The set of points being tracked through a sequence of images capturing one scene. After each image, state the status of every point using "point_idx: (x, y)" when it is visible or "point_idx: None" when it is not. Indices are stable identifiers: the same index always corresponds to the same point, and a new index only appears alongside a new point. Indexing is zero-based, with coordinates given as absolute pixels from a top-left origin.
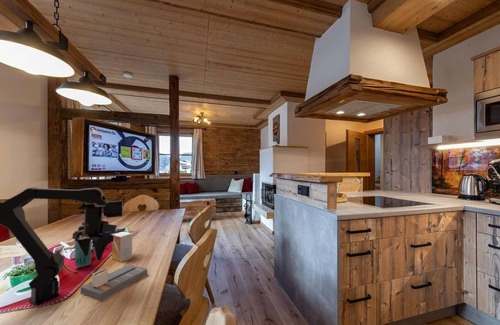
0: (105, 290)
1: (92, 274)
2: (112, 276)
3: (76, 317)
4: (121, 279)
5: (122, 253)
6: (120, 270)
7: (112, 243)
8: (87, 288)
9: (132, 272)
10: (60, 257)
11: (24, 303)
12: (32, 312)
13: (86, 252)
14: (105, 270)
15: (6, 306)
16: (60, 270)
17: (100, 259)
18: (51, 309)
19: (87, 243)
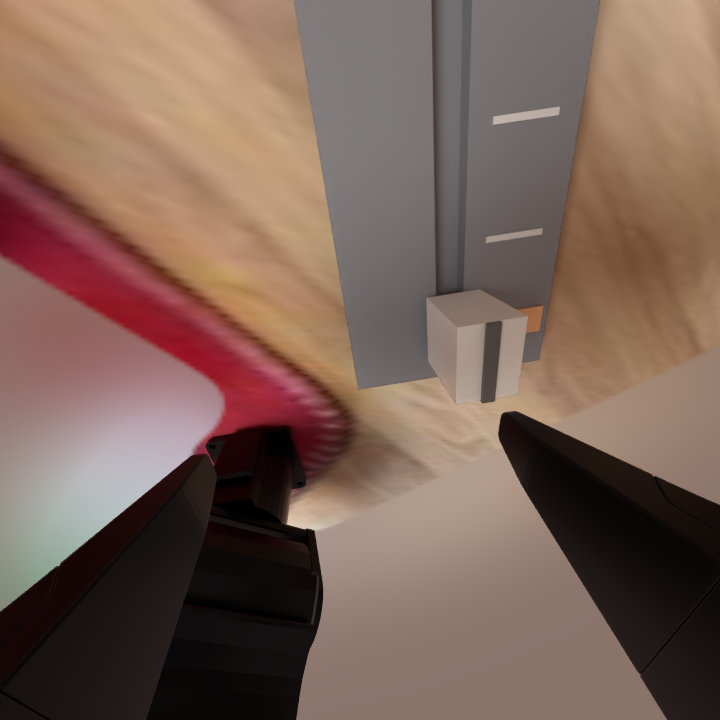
0: (535, 330)
1: (458, 403)
2: (406, 215)
3: None
4: (521, 200)
5: None
6: (358, 99)
7: None
8: (414, 375)
9: (514, 50)
10: (181, 658)
11: None
12: (343, 492)
13: (193, 504)
14: (500, 325)
15: None
16: (266, 544)
17: (515, 413)
18: (383, 459)
19: (57, 698)
